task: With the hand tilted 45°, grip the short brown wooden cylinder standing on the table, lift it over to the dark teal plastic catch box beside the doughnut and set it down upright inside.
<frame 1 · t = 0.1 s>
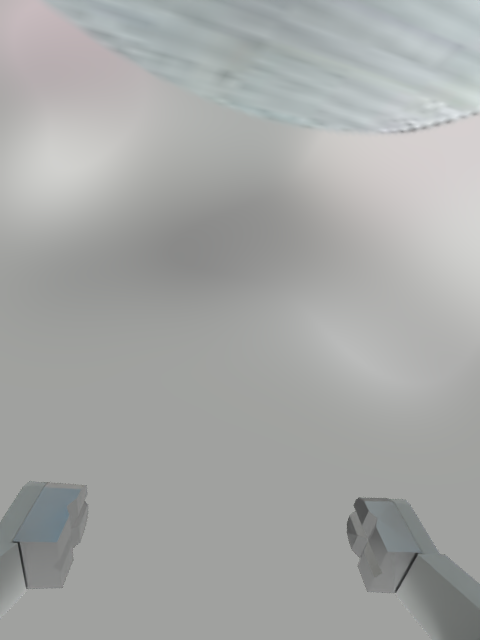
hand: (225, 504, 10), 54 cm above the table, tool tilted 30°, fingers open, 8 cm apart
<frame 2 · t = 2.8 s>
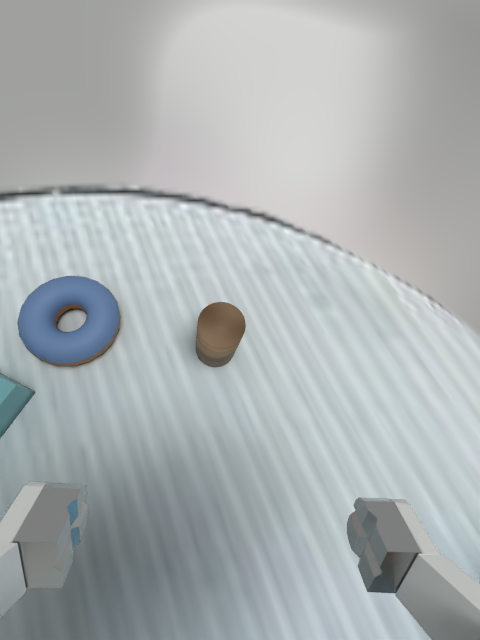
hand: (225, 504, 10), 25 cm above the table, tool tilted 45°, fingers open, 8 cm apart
brown wooden cylinder: (215, 348, 37), on the table
doughnut: (77, 326, 36), on the table
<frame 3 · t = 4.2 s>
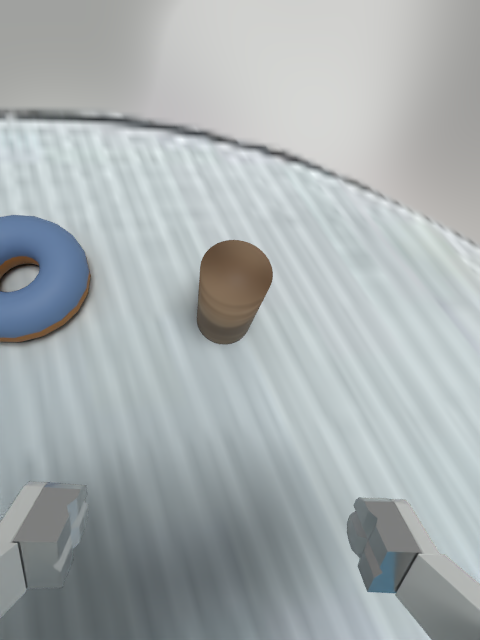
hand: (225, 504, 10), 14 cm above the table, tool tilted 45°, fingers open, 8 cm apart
brown wooden cylinder: (223, 318, 27), on the table
doughnut: (31, 289, 26), on the table
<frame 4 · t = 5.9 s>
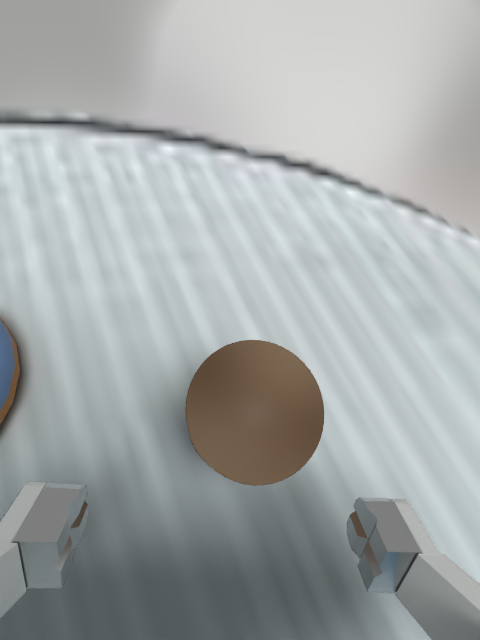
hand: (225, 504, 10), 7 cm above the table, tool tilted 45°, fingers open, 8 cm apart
brown wooden cylinder: (230, 424, 18), on the table
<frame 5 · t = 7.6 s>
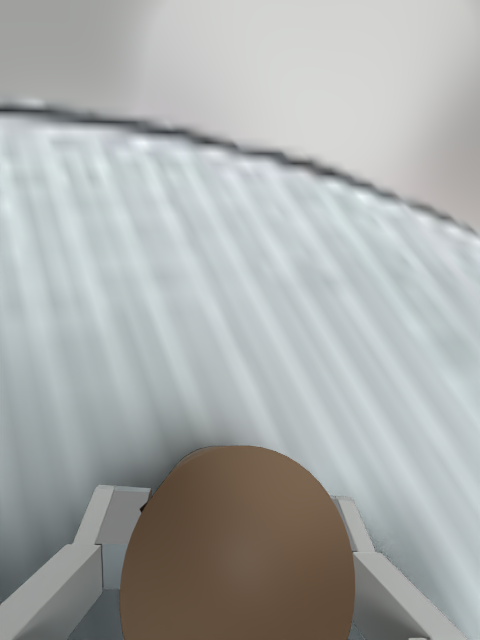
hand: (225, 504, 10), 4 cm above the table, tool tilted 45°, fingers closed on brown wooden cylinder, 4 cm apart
brown wooden cylinder: (213, 503, 13), on the table, touching gripper
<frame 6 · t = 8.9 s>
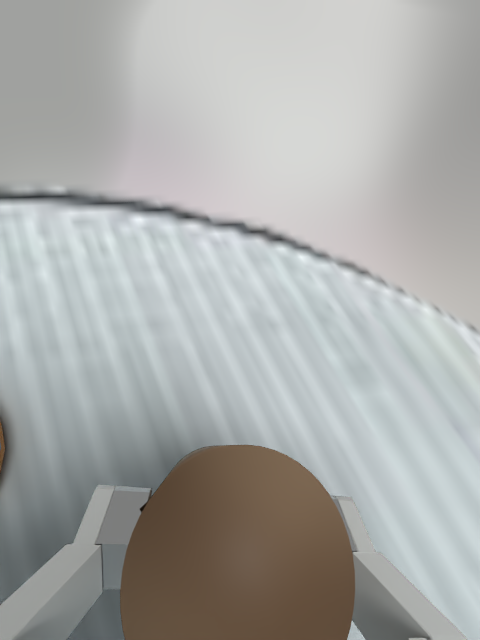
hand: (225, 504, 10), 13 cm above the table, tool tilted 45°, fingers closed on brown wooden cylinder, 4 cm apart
brown wooden cylinder: (214, 503, 13), point 8 cm above the table, touching gripper
when the fingers open (7 cm above the table, at t = 14.9 s): brown wooden cylinder drops 2 cm, resting on catch box.
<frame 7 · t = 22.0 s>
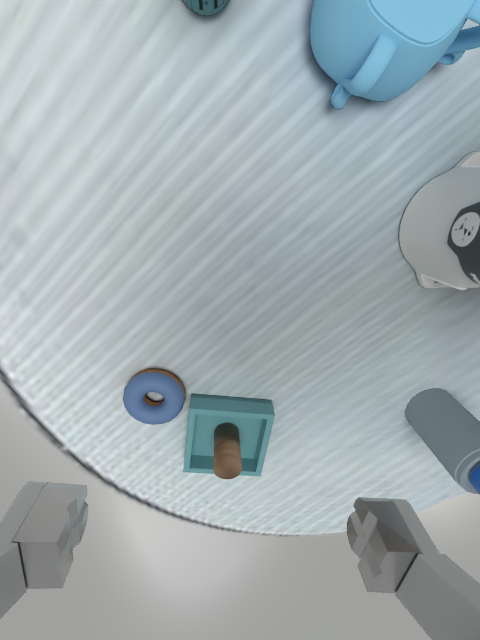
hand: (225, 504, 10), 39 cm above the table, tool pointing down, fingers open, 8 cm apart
catch box: (226, 428, 58), on the table
brown wooden cylinder: (226, 432, 57), point 1 cm above the table, touching catch box
doughnut: (157, 389, 55), on the table
spray bottle: (428, 407, 60), on the table
decorative pot: (370, 23, 37), on the table
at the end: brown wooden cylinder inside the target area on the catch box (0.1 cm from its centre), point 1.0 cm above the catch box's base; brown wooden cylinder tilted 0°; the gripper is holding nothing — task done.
